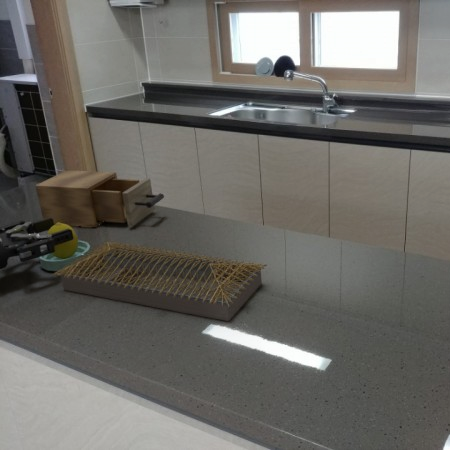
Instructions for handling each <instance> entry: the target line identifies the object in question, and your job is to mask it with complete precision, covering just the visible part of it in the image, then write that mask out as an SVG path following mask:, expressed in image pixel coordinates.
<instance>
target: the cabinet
mask: <svg viewBox="0 0 450 450" xmlns="http://www.w3.org/2000/svg"><path fill="white" fill-rule="evenodd" d="M111 178H113V179H118V174H117V172H112V171H94V170H93V171H92V170H91V171H90V170H73V169H72V170H70V169H69V170H65V171H63V172H60V173H58V174H57V175H54V176H52V177H50V178H48V179H45V180H44V181H42V182H39V183H37V184H35V186H34V187H35V191H36V194H37V199H38V203H39V207H40V212H41V216H42V220H43V219H46V218H52V219H53V221H54V225H56V223H58V222H60V223H62V224H67V225H69V226H70V227H78V226H81V227H80V228H91V229H93V228H92V227H96V228H98V227H99V226H100V225H102V224H104V223H105V222H103V221H96V216H95V211H94V206H93V201H92V196H91V191H90V190H92V189H94V188H95V187H97V186H99V185H101V184H103V183H104V182H106V181H108V180H110V179H111ZM102 222H103V223H102ZM101 223H102V224H101ZM99 224H100V225H99ZM98 225H99V226H98ZM78 228H79V227H78Z"/></svg>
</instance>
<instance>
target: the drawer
mask: <svg viewBox="0 0 450 450" xmlns="http://www.w3.org/2000/svg"><path fill="white" fill-rule="evenodd" d="M151 181H152V180H151V178H148V177H146V178H144V179H142V180H140V179H132V178H117V179H113V178H111V179H110V180H108V181H106V182H104V183H103V184H101V185H99V186H97V187H95V188H94V189H92V190H90V191H91V196H92V201H93V206H94V211H95V216H96V221H105V222H106V223H120V224H124V223H126V222H127V226H128V227H133V226H134V225H136V224H137V223H139V222H140V221H141V220H143V219H144V218H145V217H146V216H148V215H149V214H150V213H152V212H153V211H154V210H155V209H156V208H155V205H156V204H158V203H159V202H160V201H162V200H163V199H164V198H165V195H164V194H163V193H162V192H159V193H158V194H153V187H152V182H151ZM105 222H104V223H105Z"/></svg>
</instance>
